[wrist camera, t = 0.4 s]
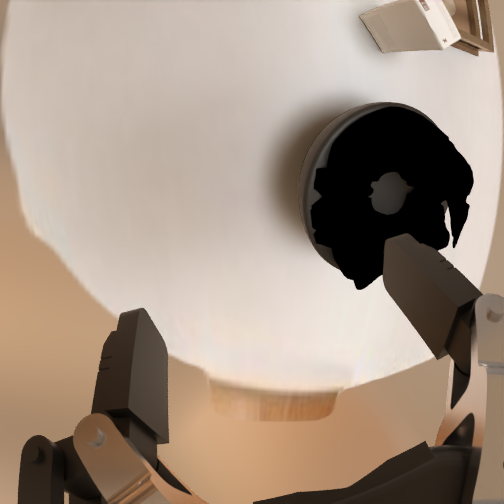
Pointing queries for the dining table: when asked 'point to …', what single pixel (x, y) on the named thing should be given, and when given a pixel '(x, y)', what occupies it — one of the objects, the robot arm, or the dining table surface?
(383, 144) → the bowl of black rocks
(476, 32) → the shallow wooden tray
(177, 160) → the dining table surface
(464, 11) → the walnut board
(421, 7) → the skincare box
